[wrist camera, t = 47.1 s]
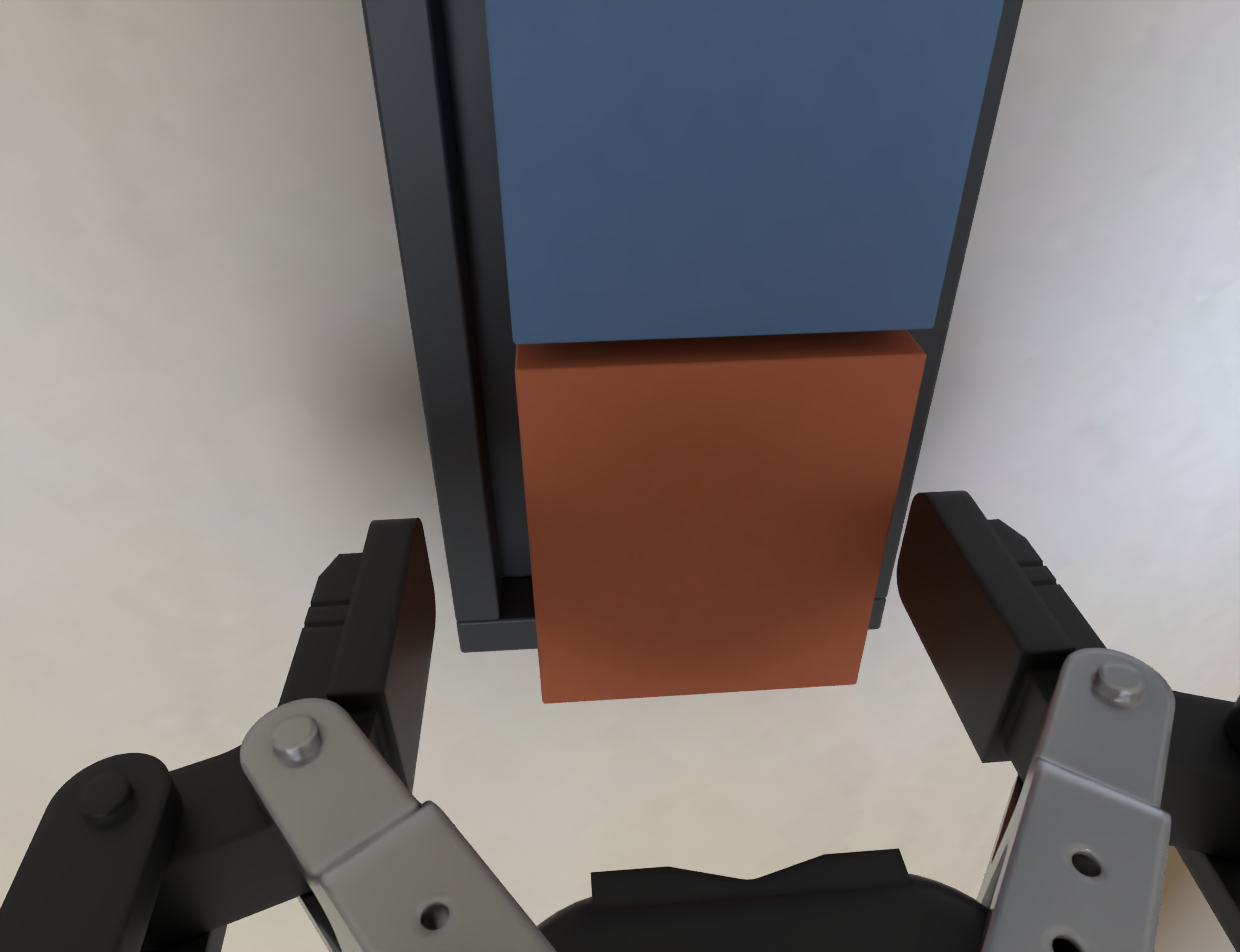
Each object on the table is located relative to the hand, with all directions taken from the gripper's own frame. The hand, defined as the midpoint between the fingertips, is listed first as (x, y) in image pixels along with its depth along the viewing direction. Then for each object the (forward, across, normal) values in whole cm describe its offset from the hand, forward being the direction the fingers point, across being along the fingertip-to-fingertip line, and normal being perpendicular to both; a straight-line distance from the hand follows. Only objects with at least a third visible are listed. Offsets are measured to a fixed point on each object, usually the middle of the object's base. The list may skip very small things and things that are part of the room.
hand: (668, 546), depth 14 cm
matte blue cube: (+5, -1, -7) cm, 9 cm away
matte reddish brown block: (+5, -1, 0) cm, 5 cm away
